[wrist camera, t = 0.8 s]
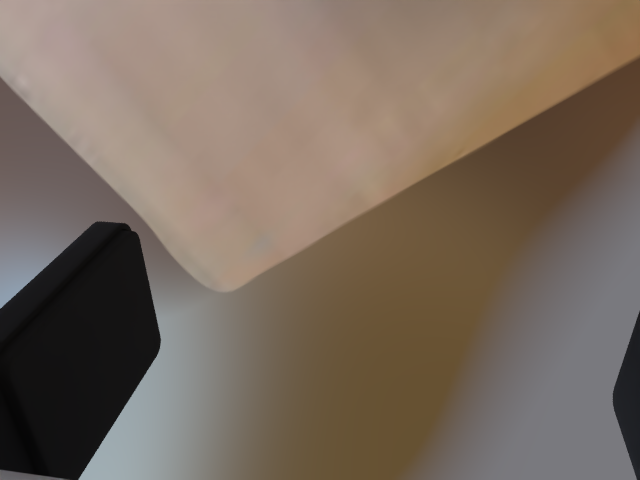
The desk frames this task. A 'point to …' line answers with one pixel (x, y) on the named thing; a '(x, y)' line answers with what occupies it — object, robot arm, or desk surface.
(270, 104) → the desk surface
